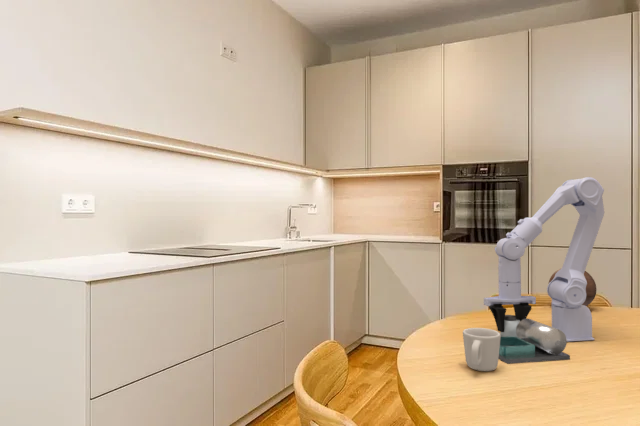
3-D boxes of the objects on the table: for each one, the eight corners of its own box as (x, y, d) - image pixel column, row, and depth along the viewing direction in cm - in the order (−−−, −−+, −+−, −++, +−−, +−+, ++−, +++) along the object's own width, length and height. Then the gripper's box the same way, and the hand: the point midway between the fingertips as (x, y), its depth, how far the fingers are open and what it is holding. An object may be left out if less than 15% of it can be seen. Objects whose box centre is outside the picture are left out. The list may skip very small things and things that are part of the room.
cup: (494, 381, 92) (494, 342, 92) (455, 374, 96) (455, 336, 96) (503, 365, 101) (503, 330, 101) (467, 359, 106) (467, 326, 106)
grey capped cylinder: (513, 334, 127) (512, 313, 127) (523, 339, 122) (523, 317, 122) (496, 335, 126) (496, 314, 126) (507, 340, 121) (506, 318, 121)
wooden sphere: (559, 302, 171) (558, 263, 171) (603, 308, 159) (602, 266, 160) (541, 308, 162) (540, 266, 162) (586, 315, 150) (586, 270, 150)
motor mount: (534, 343, 118) (534, 317, 118) (569, 359, 105) (569, 329, 105) (478, 347, 116) (478, 319, 116) (507, 363, 103) (506, 333, 103)
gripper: (524, 278, 129) (525, 325, 129) (477, 280, 127) (478, 328, 127) (540, 282, 122) (541, 332, 122) (491, 284, 120) (491, 334, 120)
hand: (510, 330), depth 124 cm, fingers closed on grey capped cylinder, 5 cm apart
